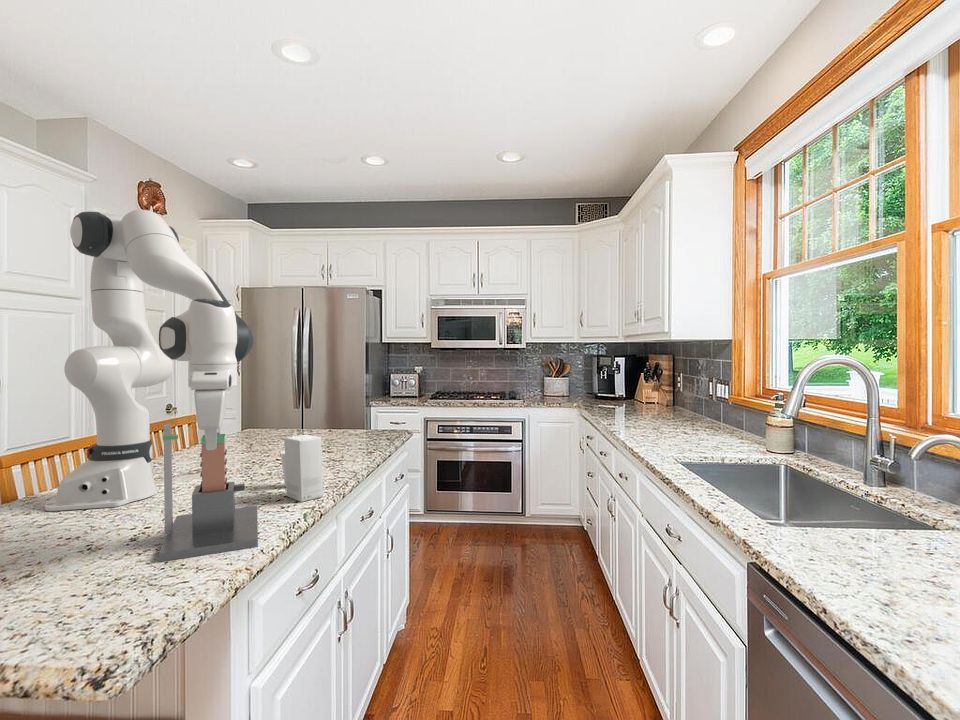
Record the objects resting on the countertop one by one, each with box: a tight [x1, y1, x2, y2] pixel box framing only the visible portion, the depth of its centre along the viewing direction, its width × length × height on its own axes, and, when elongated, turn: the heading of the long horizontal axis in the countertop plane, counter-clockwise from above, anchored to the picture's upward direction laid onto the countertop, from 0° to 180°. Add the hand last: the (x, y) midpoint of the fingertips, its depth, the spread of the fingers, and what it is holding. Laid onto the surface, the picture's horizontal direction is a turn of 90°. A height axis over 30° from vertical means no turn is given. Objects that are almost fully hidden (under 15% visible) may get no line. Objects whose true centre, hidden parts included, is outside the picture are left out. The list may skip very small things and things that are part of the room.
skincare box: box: [283, 434, 324, 503], centre depth 124 cm, size 8×7×16 cm
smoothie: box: [279, 435, 295, 488], centre depth 134 cm, size 6×6×14 cm
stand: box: [158, 424, 259, 563], centre depth 99 cm, size 17×22×23 cm
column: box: [199, 433, 228, 492], centre depth 99 cm, size 5×4×12 cm
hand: (213, 445), depth 99 cm, fingers open, 8 cm apart
